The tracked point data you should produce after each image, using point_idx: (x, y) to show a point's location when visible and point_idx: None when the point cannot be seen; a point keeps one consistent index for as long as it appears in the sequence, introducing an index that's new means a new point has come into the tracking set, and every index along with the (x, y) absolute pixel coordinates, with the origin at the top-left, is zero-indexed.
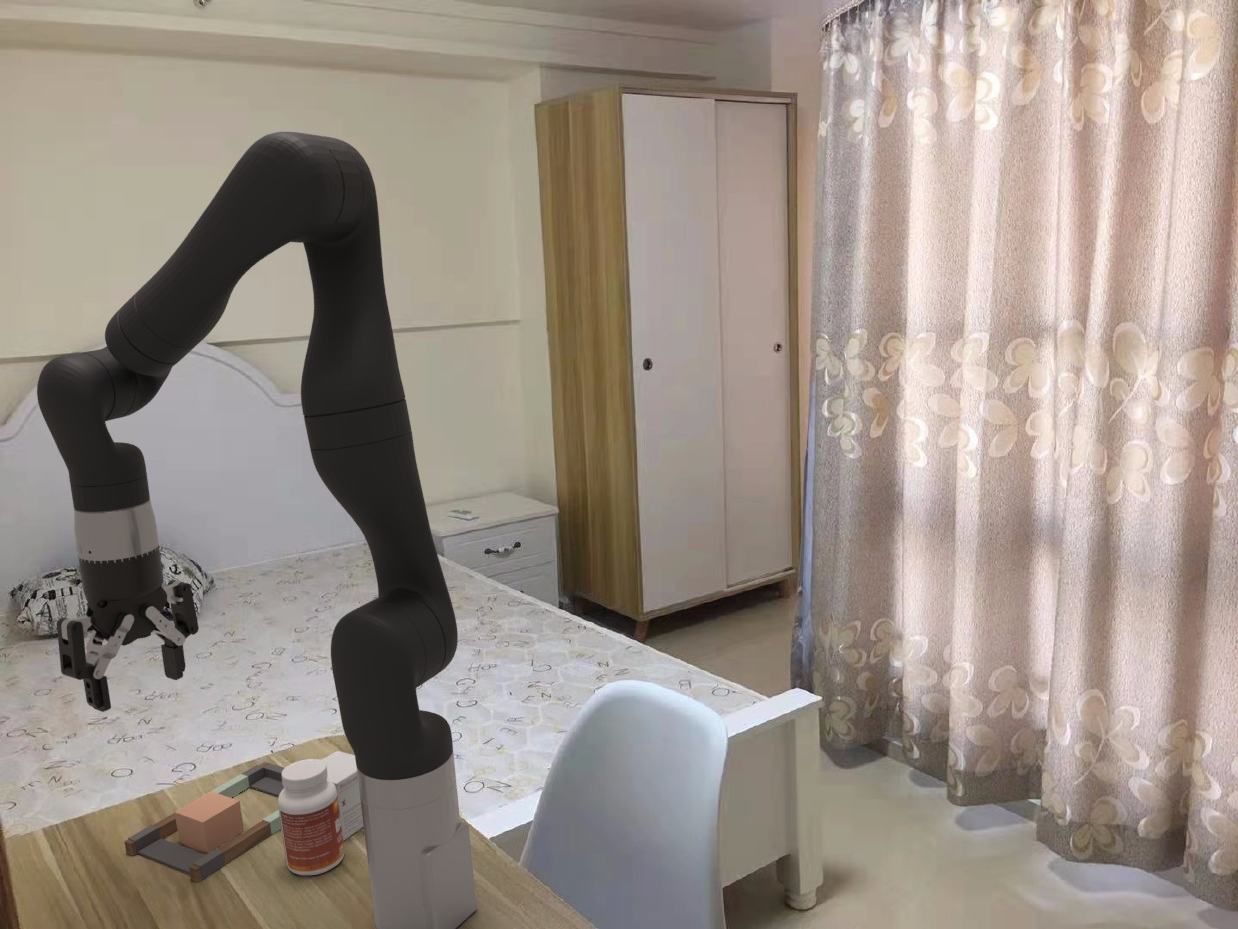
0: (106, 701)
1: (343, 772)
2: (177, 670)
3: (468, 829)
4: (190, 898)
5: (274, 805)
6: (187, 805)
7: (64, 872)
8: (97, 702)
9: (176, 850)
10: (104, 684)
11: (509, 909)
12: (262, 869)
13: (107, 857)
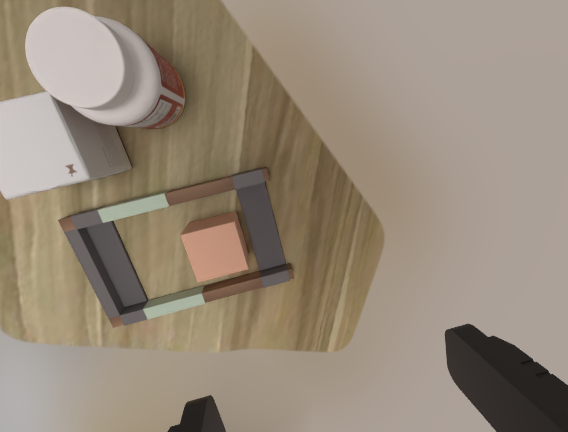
0: (485, 343)
1: (21, 115)
2: (199, 426)
3: None
4: (283, 145)
5: (140, 246)
6: (231, 271)
7: (341, 282)
8: (510, 350)
9: (258, 237)
10: (549, 404)
11: None
12: (206, 133)
13: (306, 278)
